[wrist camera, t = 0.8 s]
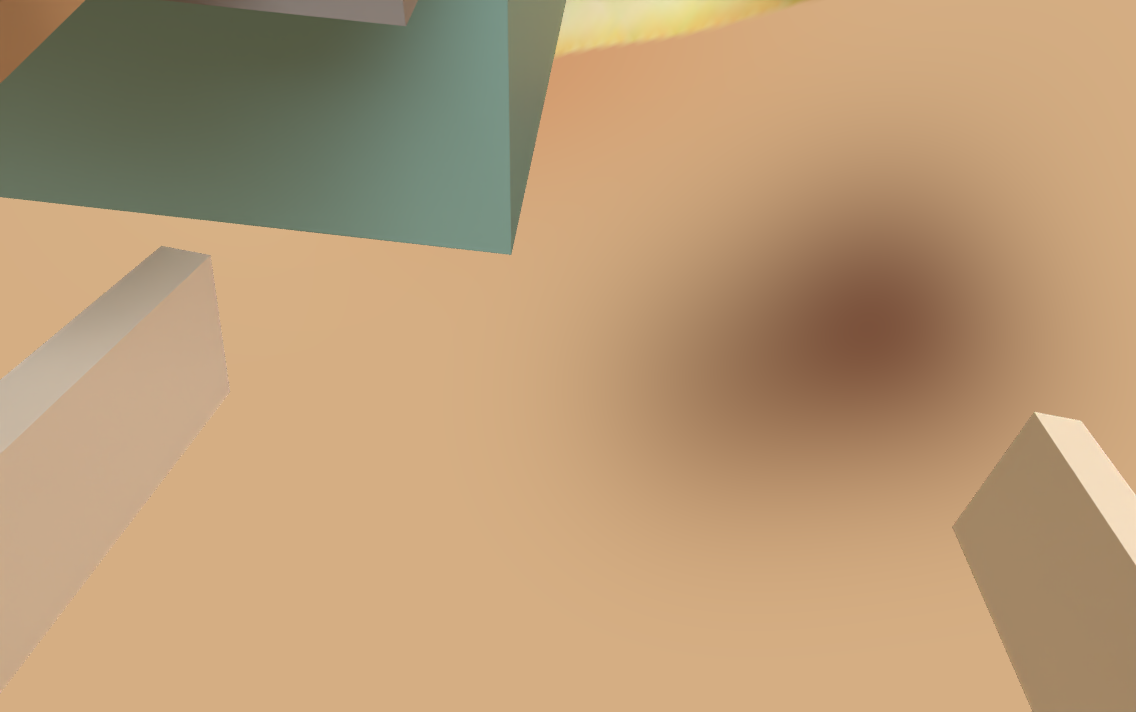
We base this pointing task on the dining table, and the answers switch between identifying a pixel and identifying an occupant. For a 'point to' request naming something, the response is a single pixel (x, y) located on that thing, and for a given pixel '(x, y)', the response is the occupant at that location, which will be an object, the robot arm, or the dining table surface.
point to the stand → (289, 114)
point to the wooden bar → (28, 27)
